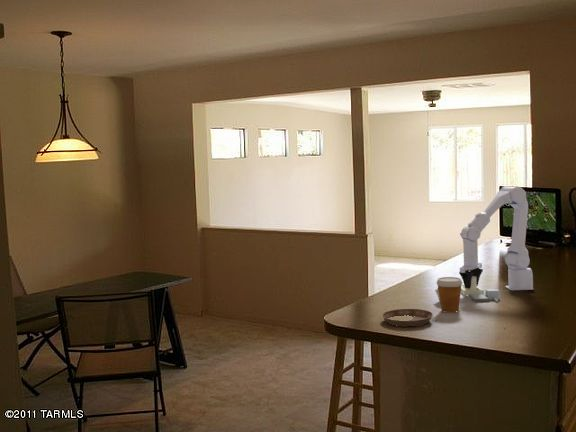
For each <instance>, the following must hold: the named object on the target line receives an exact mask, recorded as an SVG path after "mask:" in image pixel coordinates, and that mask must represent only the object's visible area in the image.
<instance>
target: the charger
mask: <svg viewBox="0 0 576 432" xmlns="http://www.w3.org/2000/svg"><path fill="white" fill-rule="evenodd" d="M467 290H477V281H476V276H472V279H471V287H470V289H468V288H467Z"/></svg>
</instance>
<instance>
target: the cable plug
mask: <svg viewBox="0 0 576 432" xmlns="http://www.w3.org/2000/svg"><path fill="white" fill-rule="evenodd" d="M484 292H485V293H484V295H485V296H487V297H488V298H489V299H490V300H491V301H492V300H493V301H494V302H497V303H498V302H499V300H500V290H499V289H497V288H487V289H485V291H484Z"/></svg>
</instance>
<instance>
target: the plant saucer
mask: <svg viewBox="0 0 576 432" xmlns="http://www.w3.org/2000/svg"><path fill="white" fill-rule="evenodd" d="M404 315H406V316H407V315H409V316H412V317H413V319H412V320H409V321H399V320H391V319H388V318H390V317H394V316H404ZM414 316H415V317H414ZM433 316H434V314H433V312H431V311H429V310H425V309H421V308H420V309H419V308H400V309H399V308H398V309H392V310H388V311H386V312H383V313H382V314H381V317H382V318H383V319H384V321H385V322H386V323H387V324H388V323H389V325H390V324H392V325H391V326H393V325H397V326H396V327H398V326H416V327H421V326H424V324H425V325H427V324H428V323H429V322H430V321H431V319H432V318H433Z"/></svg>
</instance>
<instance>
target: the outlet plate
mask: <svg viewBox="0 0 576 432" xmlns="http://www.w3.org/2000/svg"><path fill="white" fill-rule="evenodd" d="M484 292H485V291H484V289H482V288H481V286H479V285H478V286H477V290H467V288H465V286H464V284H462V285H461V293H460V294H462V295H463V296H464V295H468V294H484V295H485V293H484Z"/></svg>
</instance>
